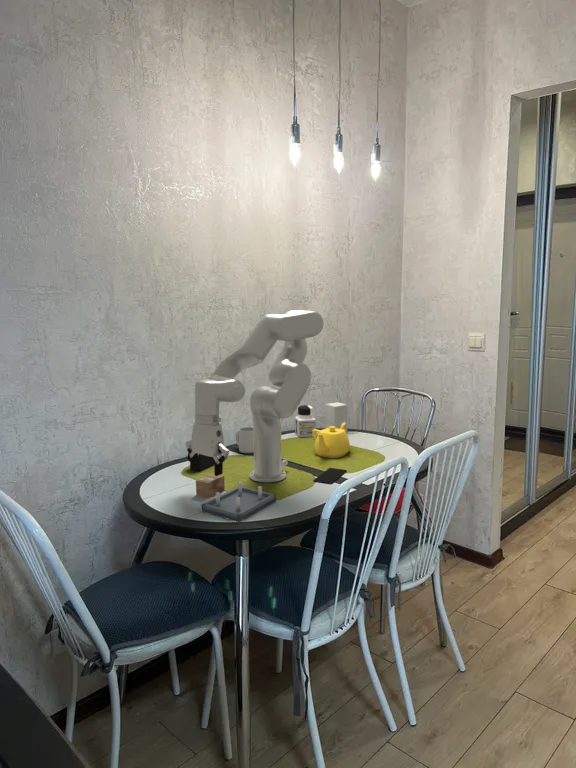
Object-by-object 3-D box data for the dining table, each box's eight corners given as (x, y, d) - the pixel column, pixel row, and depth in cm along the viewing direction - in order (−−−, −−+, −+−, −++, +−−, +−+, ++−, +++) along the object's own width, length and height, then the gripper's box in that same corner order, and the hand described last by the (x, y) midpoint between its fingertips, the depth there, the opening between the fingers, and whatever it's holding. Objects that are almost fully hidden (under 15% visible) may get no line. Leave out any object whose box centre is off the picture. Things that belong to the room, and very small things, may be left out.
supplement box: (347, 432, 251) (348, 404, 249) (334, 434, 248) (334, 406, 246) (338, 428, 258) (338, 401, 256) (325, 430, 254) (325, 403, 252)
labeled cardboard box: (212, 487, 184) (212, 472, 183) (224, 490, 181) (224, 475, 181) (196, 495, 177) (195, 480, 177) (208, 498, 175) (207, 482, 174)
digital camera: (204, 462, 211) (204, 444, 210) (216, 464, 208) (216, 445, 207) (187, 470, 202) (186, 451, 200) (199, 472, 199) (198, 453, 198)
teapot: (325, 443, 234) (325, 418, 232) (359, 449, 226) (359, 422, 224) (297, 456, 216) (297, 429, 214) (332, 463, 208) (332, 435, 206)
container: (298, 437, 243) (298, 408, 241) (295, 433, 251) (294, 404, 249) (316, 436, 245) (316, 407, 243) (311, 432, 252) (311, 403, 250)
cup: (248, 454, 219) (248, 432, 218) (230, 450, 225) (229, 428, 224) (260, 450, 225) (260, 428, 223) (242, 446, 231) (242, 425, 229)
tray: (239, 492, 179) (239, 476, 178) (275, 501, 172) (275, 485, 171) (201, 511, 164) (201, 494, 163) (239, 522, 157) (238, 504, 156)
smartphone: (312, 480, 189) (329, 467, 202) (312, 482, 189) (329, 469, 202) (331, 483, 186) (347, 469, 199) (331, 485, 186) (347, 472, 199)
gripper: (236, 421, 173) (235, 474, 176) (194, 413, 183) (194, 464, 185) (220, 425, 167) (220, 480, 170) (178, 417, 177) (178, 469, 179)
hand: (206, 472), depth 178 cm, fingers open, 9 cm apart
